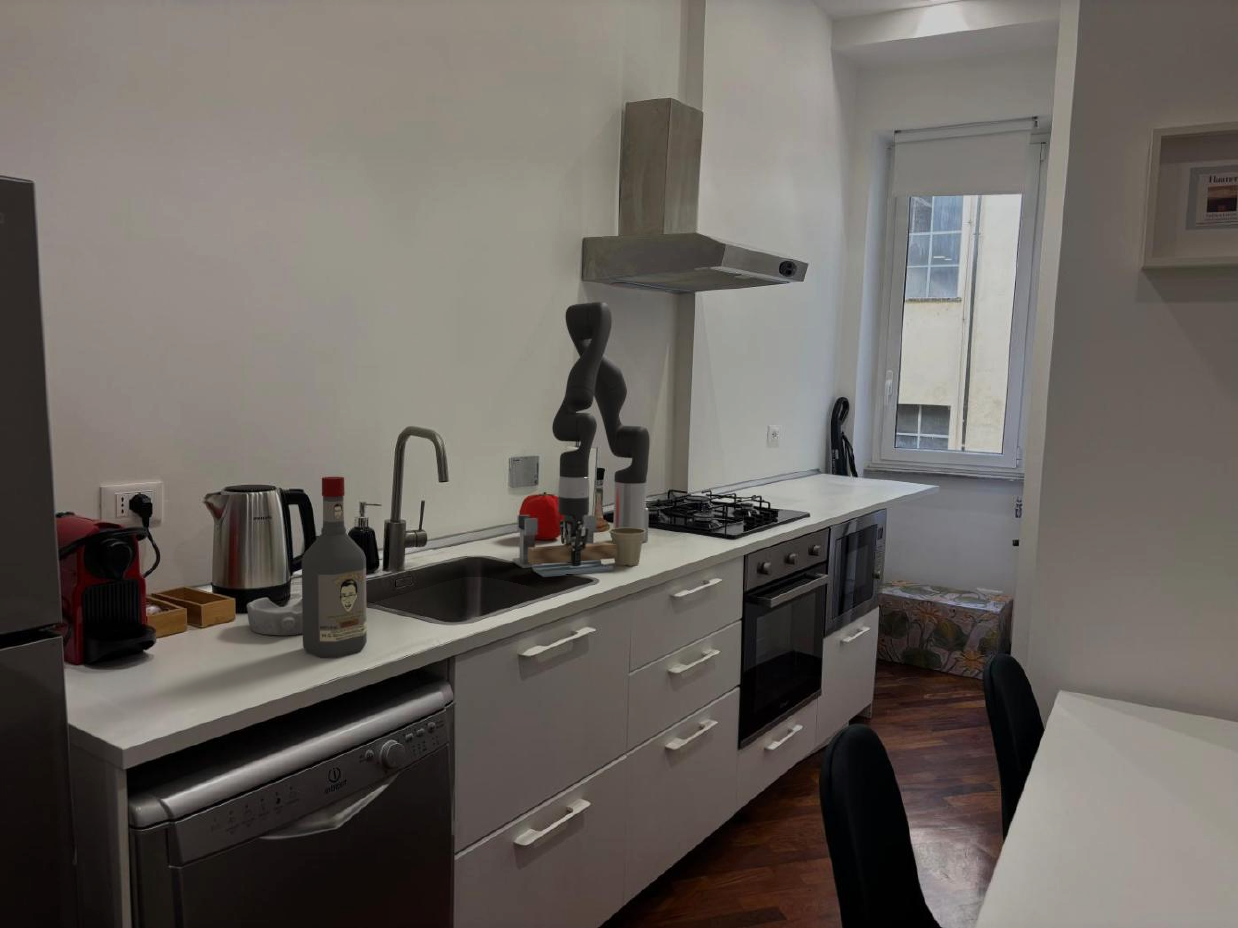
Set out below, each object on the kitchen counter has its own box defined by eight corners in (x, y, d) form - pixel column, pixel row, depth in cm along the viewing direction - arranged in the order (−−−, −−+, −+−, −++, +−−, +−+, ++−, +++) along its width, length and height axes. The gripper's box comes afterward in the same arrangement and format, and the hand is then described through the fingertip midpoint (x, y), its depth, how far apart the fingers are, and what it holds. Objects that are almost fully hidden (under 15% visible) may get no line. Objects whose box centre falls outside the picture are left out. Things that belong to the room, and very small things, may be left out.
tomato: (560, 544, 258) (560, 496, 257) (512, 542, 260) (513, 494, 259) (572, 534, 274) (572, 489, 272) (527, 532, 276) (527, 487, 274)
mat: (599, 564, 232) (599, 560, 232) (612, 571, 225) (613, 566, 225) (532, 570, 225) (532, 565, 225) (543, 576, 217) (543, 571, 217)
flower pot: (602, 565, 232) (603, 531, 231) (616, 558, 240) (616, 526, 239) (637, 569, 228) (638, 534, 227) (650, 562, 237) (650, 529, 236)
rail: (610, 555, 231) (610, 541, 230) (616, 558, 228) (616, 544, 227) (527, 561, 222) (527, 547, 221) (532, 564, 218) (532, 550, 218)
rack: (588, 556, 243) (589, 511, 242) (600, 562, 236) (601, 515, 234) (512, 561, 234) (512, 515, 233) (522, 567, 227) (523, 520, 226)
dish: (237, 626, 173) (237, 600, 172) (309, 614, 182) (309, 589, 182) (267, 644, 162) (266, 616, 162) (341, 630, 171) (341, 604, 171)
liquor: (297, 649, 159) (294, 477, 156) (344, 638, 166) (342, 473, 163) (325, 661, 153) (323, 482, 150) (372, 649, 160) (371, 478, 157)
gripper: (599, 497, 218) (598, 569, 220) (577, 490, 231) (576, 557, 233) (570, 499, 215) (569, 571, 217) (549, 491, 228) (548, 559, 230)
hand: (572, 563), depth 225 cm, fingers closed on rail, 3 cm apart
